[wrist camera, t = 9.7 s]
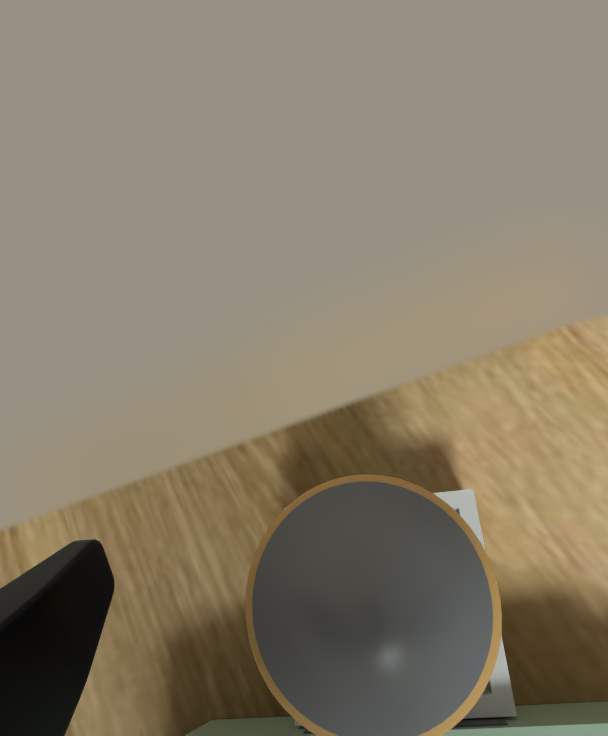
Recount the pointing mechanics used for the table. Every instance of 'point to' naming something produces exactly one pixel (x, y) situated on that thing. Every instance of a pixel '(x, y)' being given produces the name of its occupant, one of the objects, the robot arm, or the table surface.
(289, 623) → the grey banded cylinder
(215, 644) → the table surface
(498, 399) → the table surface
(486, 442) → the table surface
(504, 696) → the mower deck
